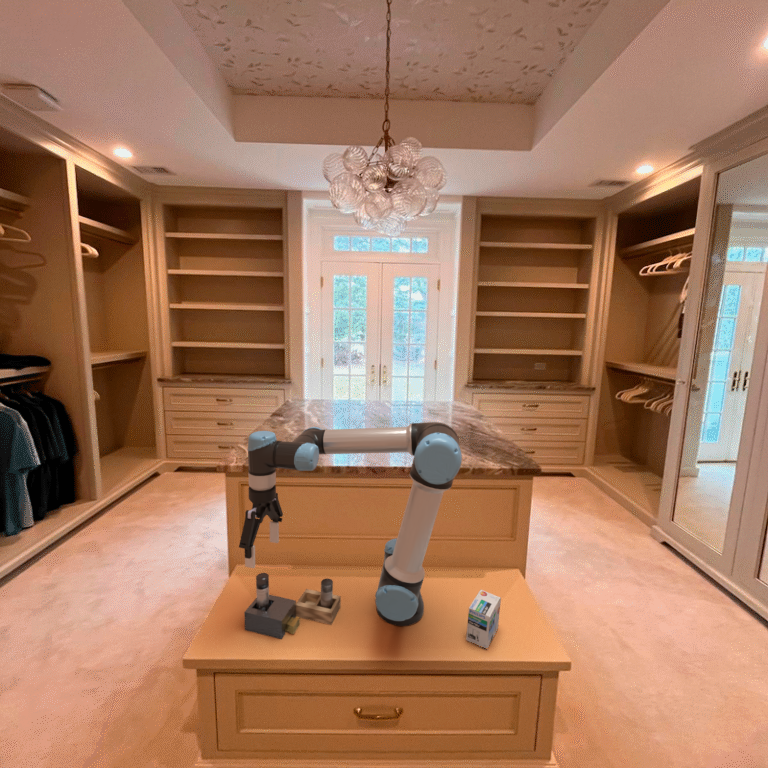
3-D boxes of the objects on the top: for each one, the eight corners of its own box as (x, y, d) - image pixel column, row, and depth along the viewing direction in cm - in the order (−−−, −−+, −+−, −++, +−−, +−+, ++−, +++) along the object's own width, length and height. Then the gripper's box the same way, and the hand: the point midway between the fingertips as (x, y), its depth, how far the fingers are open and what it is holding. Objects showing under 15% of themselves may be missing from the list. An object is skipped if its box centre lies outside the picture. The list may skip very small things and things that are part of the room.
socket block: (295, 617, 130) (295, 600, 129) (281, 639, 121) (281, 620, 120) (260, 609, 133) (260, 592, 132) (244, 630, 124) (244, 611, 123)
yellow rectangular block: (299, 624, 127) (299, 617, 126) (293, 634, 123) (293, 626, 123) (266, 616, 130) (266, 609, 129) (259, 625, 126) (259, 618, 125)
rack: (340, 607, 135) (341, 576, 133) (331, 624, 128) (332, 592, 126) (306, 599, 138) (306, 569, 136) (295, 616, 130) (295, 584, 129)
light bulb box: (487, 651, 120) (490, 617, 118) (465, 640, 124) (467, 608, 122) (498, 628, 129) (501, 596, 127) (477, 619, 133) (480, 588, 131)
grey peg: (271, 609, 128) (270, 574, 126) (265, 617, 125) (264, 581, 123) (261, 607, 129) (260, 571, 127) (254, 615, 126) (253, 578, 124)
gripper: (272, 468, 133) (272, 530, 136) (224, 501, 109) (225, 576, 113) (294, 471, 131) (293, 534, 135) (249, 506, 107) (250, 581, 111)
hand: (262, 553), depth 124 cm, fingers open, 13 cm apart
